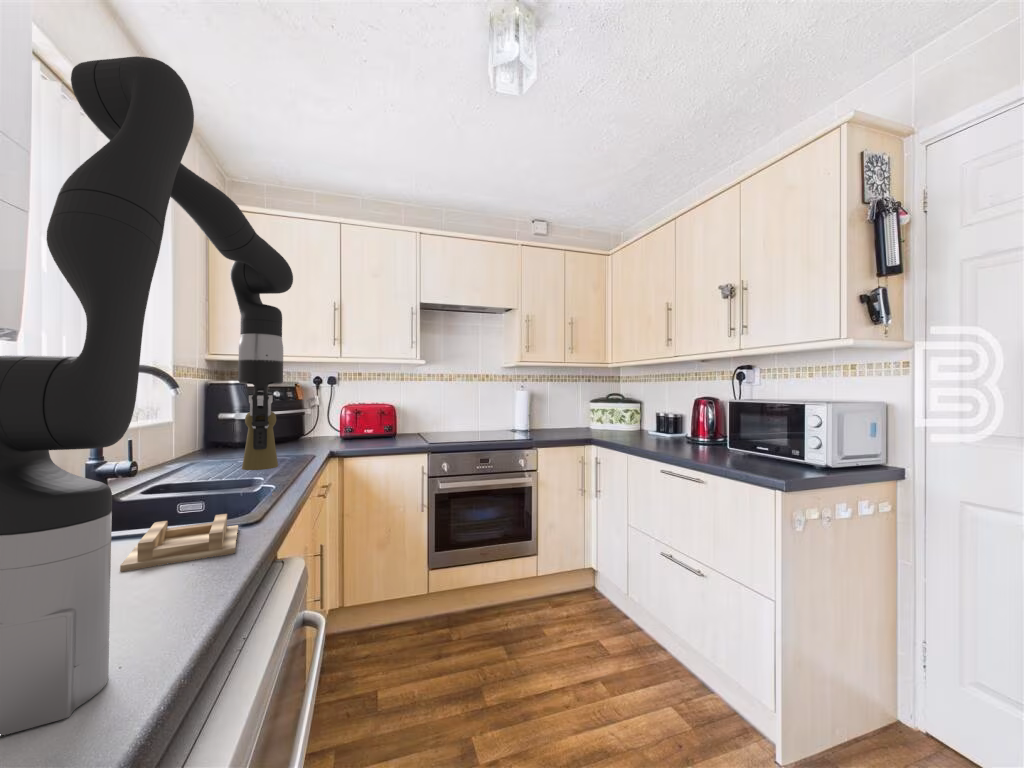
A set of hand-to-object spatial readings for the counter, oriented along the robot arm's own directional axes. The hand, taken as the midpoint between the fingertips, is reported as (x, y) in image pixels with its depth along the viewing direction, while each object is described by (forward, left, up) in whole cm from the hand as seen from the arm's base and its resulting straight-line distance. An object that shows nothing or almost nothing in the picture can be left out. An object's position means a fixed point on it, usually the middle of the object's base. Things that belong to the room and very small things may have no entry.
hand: (260, 447), depth 83 cm
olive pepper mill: (0, 0, -4) cm, 4 cm away
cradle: (+7, +12, -19) cm, 24 cm away
